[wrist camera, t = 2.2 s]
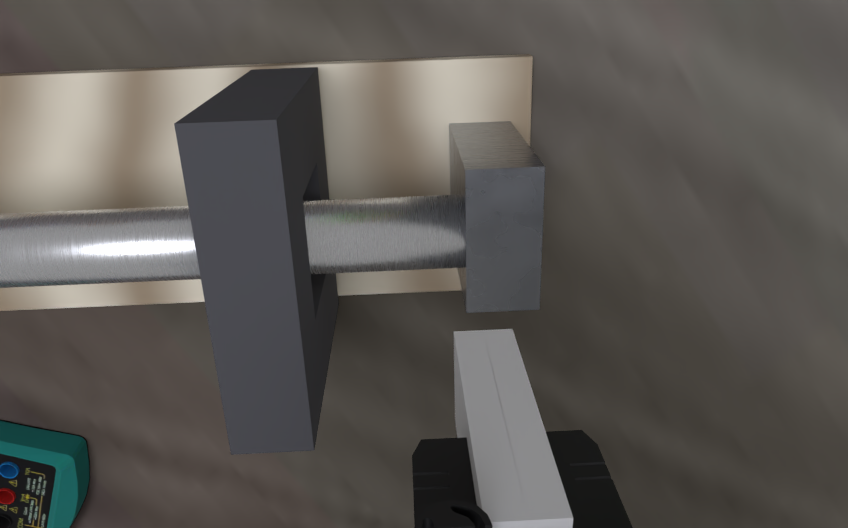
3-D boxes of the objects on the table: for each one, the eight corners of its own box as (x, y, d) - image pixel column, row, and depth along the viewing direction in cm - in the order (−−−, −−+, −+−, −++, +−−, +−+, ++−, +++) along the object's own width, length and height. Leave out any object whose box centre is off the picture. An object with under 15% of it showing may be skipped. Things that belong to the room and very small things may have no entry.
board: (528, 54, 34) (532, 56, 33) (522, 279, 38) (525, 287, 37) (-295, 84, 33) (-315, 87, 32) (-198, 311, 37) (-213, 320, 36)
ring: (317, 67, 32) (276, 119, 20) (338, 303, 36) (314, 450, 25) (251, 69, 31) (174, 123, 20) (280, 306, 36) (231, 454, 25)
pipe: (510, 120, 34) (546, 168, 26) (508, 236, 36) (540, 312, 28) (-265, 151, 33) (-480, 210, 25) (-216, 267, 35) (-397, 355, 27)
